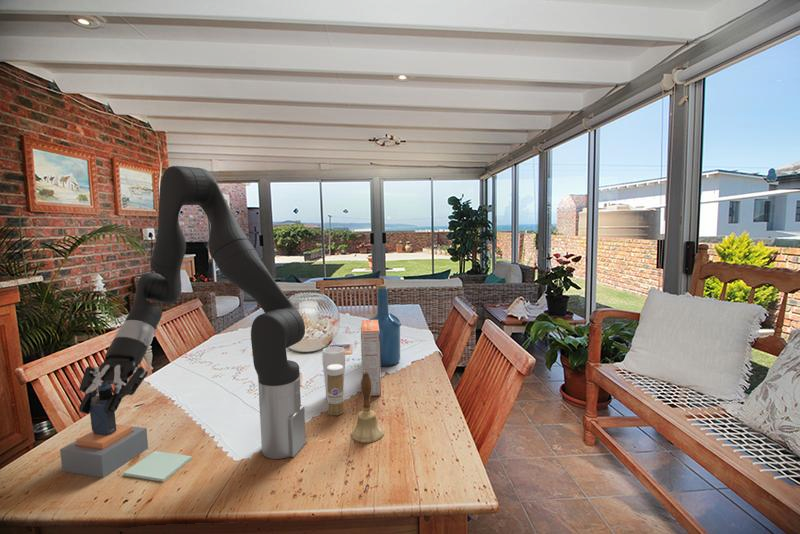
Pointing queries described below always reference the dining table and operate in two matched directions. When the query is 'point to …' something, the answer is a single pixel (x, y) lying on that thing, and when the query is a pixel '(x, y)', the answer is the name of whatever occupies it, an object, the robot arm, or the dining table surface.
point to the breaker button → (103, 438)
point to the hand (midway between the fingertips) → (95, 412)
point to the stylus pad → (158, 466)
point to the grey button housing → (103, 455)
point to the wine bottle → (387, 330)
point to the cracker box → (371, 354)
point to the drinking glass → (333, 361)
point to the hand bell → (366, 417)
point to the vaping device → (102, 411)
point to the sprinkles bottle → (335, 389)
